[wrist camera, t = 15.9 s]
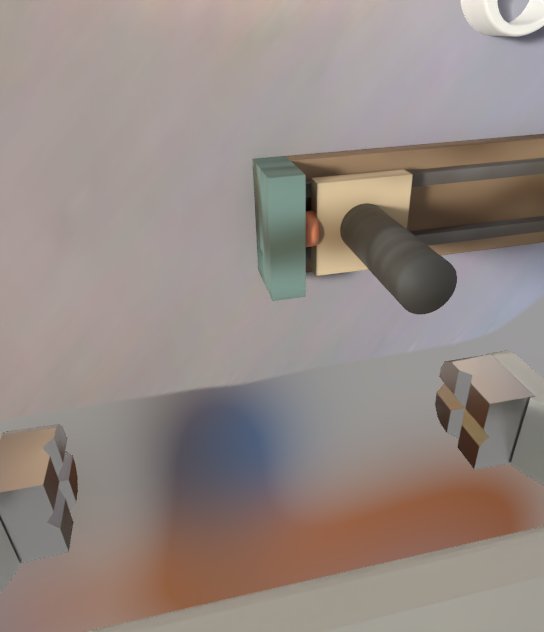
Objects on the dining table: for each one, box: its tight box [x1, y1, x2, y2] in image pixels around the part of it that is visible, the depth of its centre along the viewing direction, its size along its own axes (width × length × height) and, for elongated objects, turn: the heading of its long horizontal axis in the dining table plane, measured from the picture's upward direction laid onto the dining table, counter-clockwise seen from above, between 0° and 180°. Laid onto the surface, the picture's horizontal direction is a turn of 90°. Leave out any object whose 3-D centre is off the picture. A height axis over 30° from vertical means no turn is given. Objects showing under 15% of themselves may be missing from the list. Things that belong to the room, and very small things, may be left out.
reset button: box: [306, 210, 319, 247], centre depth 37 cm, size 3×1×3 cm, turn 2°
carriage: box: [311, 169, 457, 314], centre depth 33 cm, size 7×7×12 cm
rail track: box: [253, 134, 544, 301], centre depth 39 cm, size 9×28×6 cm, turn 92°
